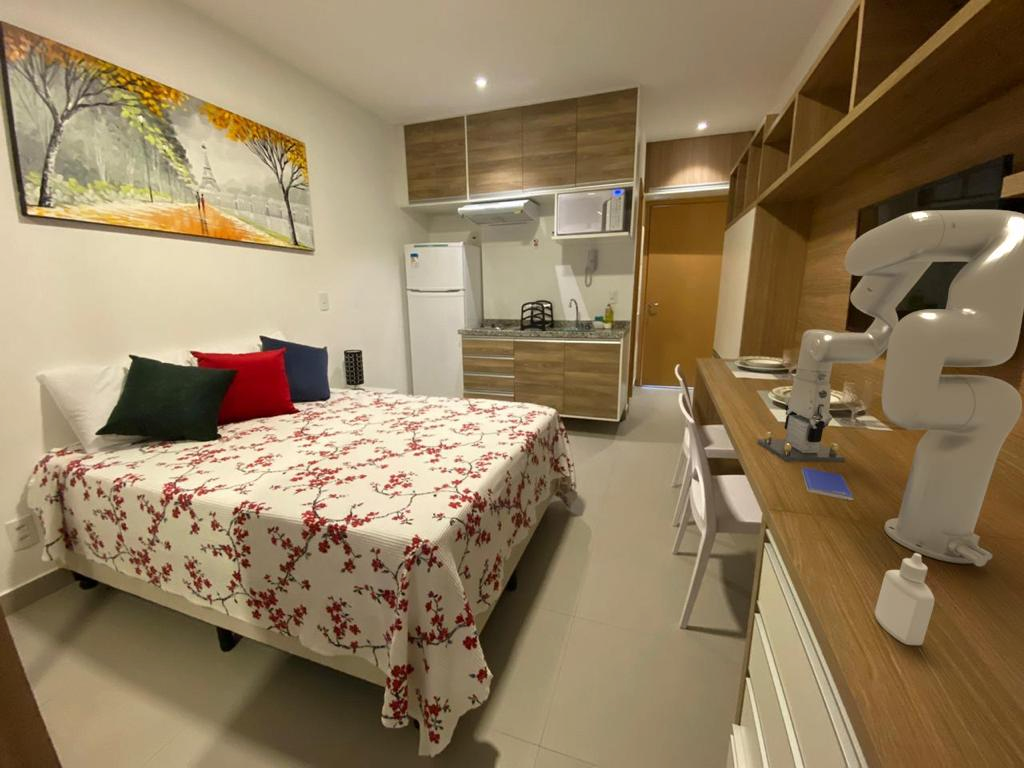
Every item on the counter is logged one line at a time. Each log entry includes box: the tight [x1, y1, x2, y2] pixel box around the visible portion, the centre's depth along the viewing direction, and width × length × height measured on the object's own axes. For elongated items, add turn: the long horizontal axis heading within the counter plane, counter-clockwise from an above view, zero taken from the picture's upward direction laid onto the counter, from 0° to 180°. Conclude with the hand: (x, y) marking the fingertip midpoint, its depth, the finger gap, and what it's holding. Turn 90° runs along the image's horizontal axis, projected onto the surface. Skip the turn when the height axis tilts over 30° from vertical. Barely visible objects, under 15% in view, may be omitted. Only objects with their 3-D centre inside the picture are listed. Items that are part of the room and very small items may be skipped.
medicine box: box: [784, 415, 821, 453], centre depth 116 cm, size 8×4×9 cm, turn 0°
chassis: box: [756, 430, 846, 463], centre depth 117 cm, size 13×16×4 cm
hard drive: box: [801, 467, 854, 501], centre depth 99 cm, size 2×8×12 cm
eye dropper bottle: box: [874, 552, 936, 646], centre depth 56 cm, size 4×6×12 cm
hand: (801, 435), depth 116 cm, fingers open, 9 cm apart
